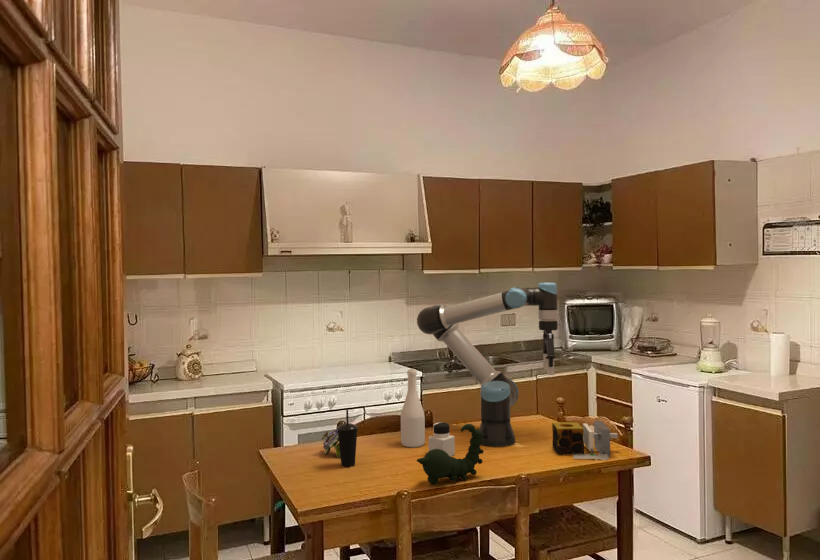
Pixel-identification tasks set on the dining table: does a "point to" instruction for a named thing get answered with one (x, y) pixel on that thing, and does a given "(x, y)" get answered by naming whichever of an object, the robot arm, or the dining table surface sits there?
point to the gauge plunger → (590, 435)
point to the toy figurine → (453, 460)
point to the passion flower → (331, 442)
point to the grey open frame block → (599, 443)
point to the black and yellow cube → (568, 438)
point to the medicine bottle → (442, 439)
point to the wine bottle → (412, 415)
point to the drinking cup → (347, 442)
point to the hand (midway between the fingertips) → (548, 372)
